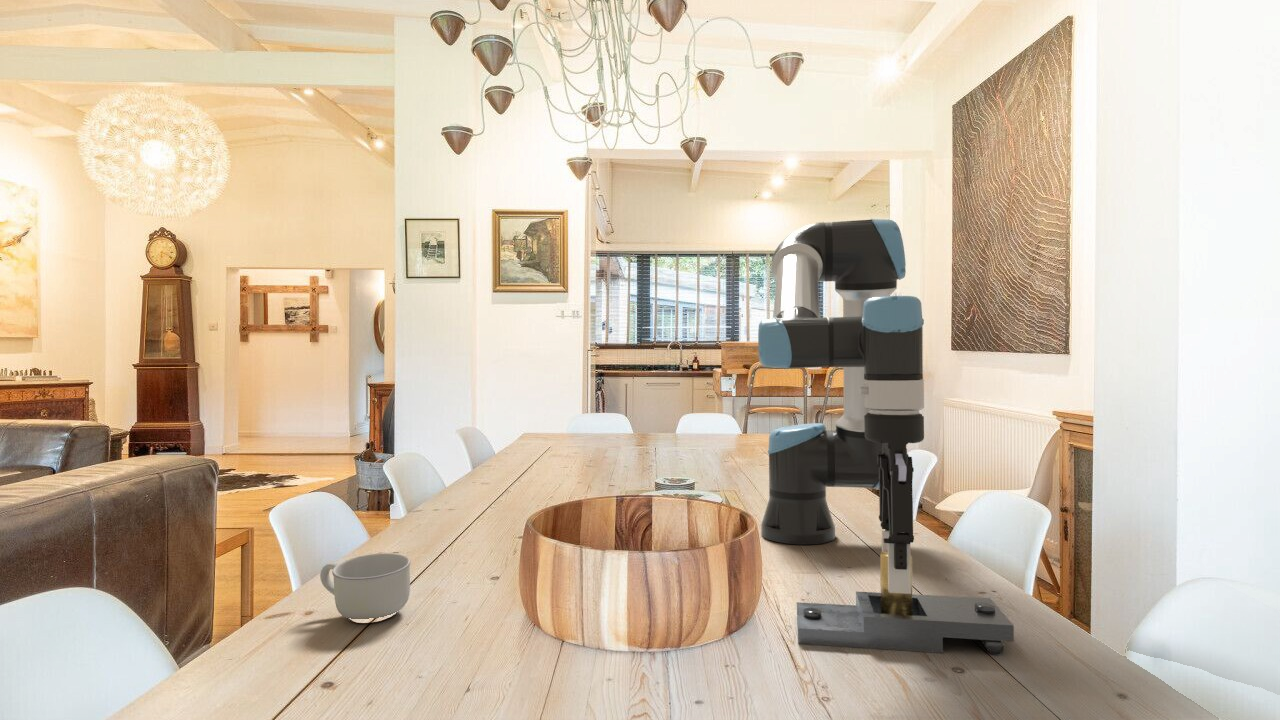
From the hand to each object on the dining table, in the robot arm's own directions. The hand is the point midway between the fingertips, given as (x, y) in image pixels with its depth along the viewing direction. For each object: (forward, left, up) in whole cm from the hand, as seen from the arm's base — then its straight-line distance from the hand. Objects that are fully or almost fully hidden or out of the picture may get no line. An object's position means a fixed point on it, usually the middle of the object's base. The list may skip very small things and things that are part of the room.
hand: (896, 584), depth 94 cm
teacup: (+5, -76, -7) cm, 76 cm away
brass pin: (0, 0, -4) cm, 4 cm away
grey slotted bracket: (0, 0, -7) cm, 7 cm away
